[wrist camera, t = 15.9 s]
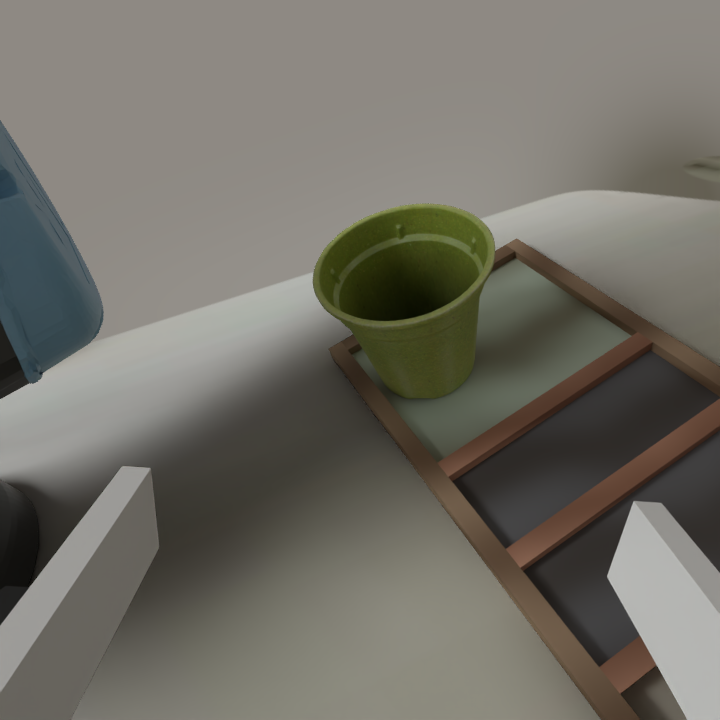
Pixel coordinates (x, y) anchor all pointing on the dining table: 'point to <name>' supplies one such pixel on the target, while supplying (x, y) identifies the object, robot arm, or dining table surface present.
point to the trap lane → (563, 454)
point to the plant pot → (410, 293)
